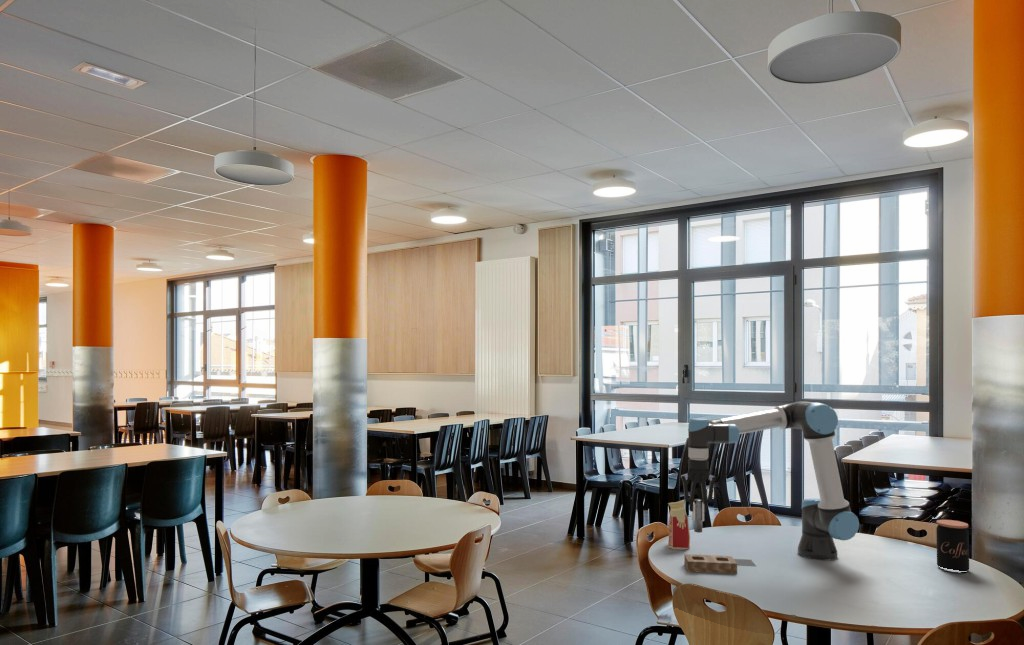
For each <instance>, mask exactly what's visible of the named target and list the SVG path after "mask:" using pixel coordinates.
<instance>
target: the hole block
mask: <svg viewBox="0 0 1024 645" xmlns="http://www.w3.org/2000/svg"><path fill="white" fill-rule="evenodd" d="M683 558H684V564H683V565H684V566H685V567H684V568H685V569H686V570H687V573H699V572H700V573H716V574H717V573H720V574H721V573H722V574H738V566H737V563H736V561H735V560H734V559H735V558H734V557H733V556H732V555H713V554H712V555H711V554H710V555H709V554H696V553H695V554H690V553H684V557H683Z"/></svg>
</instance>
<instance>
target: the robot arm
mask: <svg viewBox="0 0 1024 645" xmlns="http://www.w3.org/2000/svg"><path fill="white" fill-rule="evenodd" d="M838 424H839V418H838V415H837V412H836V411H835V409H834V408H832V407H831V406H830V405H827V404H826V403H822V402H813V401H805V400H804V401H803V400H802V401H795V402H791V403H786V404H782V405H778V406H775V407H774V408H773V409H768V410H763V411H757V412H751V413H746V414H740V415H734V416H728V417H722V418H719V419H711V420H709V419H708V418H702V417H701V418H697V417H694V418H693V417H692V418H689V421H688V426H687V431H688V433H687V434H688V449H687V450H688V455H687V456H688V459H687V465H688V466H687V467H688V470H687V471H686V473H684V474H681V475H680V478H681V480H682V485H683V487H682V488H683V495H684V500H685V502H688V504H689V507H688V508H689V511H690V512H691V520H692V521H693V522H694V521H695V503H694V500H695V493H696V487H697V484H700V487H701V495H702V496H701V497H702V522H705V513H707V511H708V504H709V503H712V502H713V495H714V487H715V482H716V480H717V477H716V476H714V475H712V474H711V473H710V471H709V460H708V459H709V446H710V445H709V444H728V445H729V444H735V443H738V442H739V439H740V435H743V434H747V433H748V434H749V433H755V432H760V431H766V430H771V429H777V428H779V429H780V430H786V429H795V430H801V431H802V435H803V436H802V437H803V439H804V440H805V441H807V442H808V444H809V445H808V446H809V448H810V449H809V450H810V455H811V460H812V464H813V469H814V474H815V478H816V479H815V480H816V483H817V489H818V493H819V494H818V495H819V498H805V499H803V500H802V502H801V537H800V539H799V543H798V545H797V554H798V555H799V556H800V557H804V558H807V559H813V560H818V561H819V560H820V561H832V560H833V561H834V560H836V559H838V551H837V547H836V543H835V541H834V539H835V540H838V541H848V540H851V539H852V538H854V537H855V536H856V534H857V533H858V531H859V528H860V522H859V521H860V520H859V518H858V516H857V515H856V514H855V513H854V512H852V509H851V505H850V501H848V500H846V499H845V498H844V492H843V486H842V483H841V478H840V472H839V468H838V463H837V456H836V452H835V447H834V444H833V438H834V437H835V436H836V429H837V426H838ZM688 478H689V479H690V481H691V486H690V493H689V490H688V481H687V480H688ZM708 479H709V486H708V494H707V491H706V490H707V489H706V481H707V480H708Z"/></svg>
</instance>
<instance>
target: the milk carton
mask: <svg viewBox="0 0 1024 645" xmlns="http://www.w3.org/2000/svg"><path fill="white" fill-rule="evenodd" d="M685 502H686V500H685V499H682V500H678V501H676V502H668V503H667V504H668V506H669V507H670V512H669V519H668V543H667V547H668V548H670V549H672V550H684V551H685V550H690V549H691V532H690V524H689V519H688V515H687V512H686V506H685Z"/></svg>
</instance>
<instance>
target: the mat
mask: <svg viewBox="0 0 1024 645" xmlns="http://www.w3.org/2000/svg"><path fill="white" fill-rule="evenodd" d="M733 559H734V560H735V561H736V563H737V567H739V566H741V567H757V565H756V563H755V562H754V561H753V560H752V559H746V558H745V559H744V558H742V559H741V558H733Z"/></svg>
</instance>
